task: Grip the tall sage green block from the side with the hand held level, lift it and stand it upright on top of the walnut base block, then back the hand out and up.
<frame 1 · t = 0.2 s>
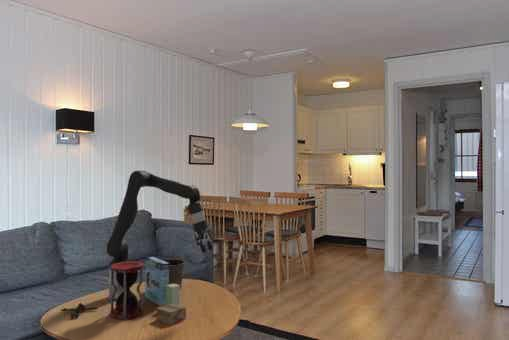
hand: (207, 251, 217), 31 cm above the table, tool tilted 20°, fingers open, 8 cm apart
walnut base block: (171, 319, 203), on the table
hourglass: (126, 314, 210), on the table
plant pot: (171, 288, 255), on the table
sage block: (172, 307, 219), on the table
brown crossed bar shape: (78, 314, 210), on the table
gum box: (156, 301, 230), on the table
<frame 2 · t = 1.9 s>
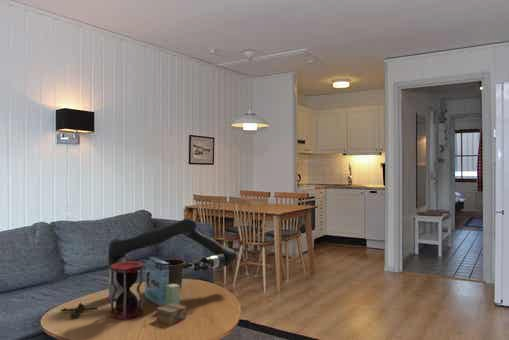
hand: (188, 268, 228), 19 cm above the table, tool horizontal, fingers open, 8 cm apart
nothing on the table moved.
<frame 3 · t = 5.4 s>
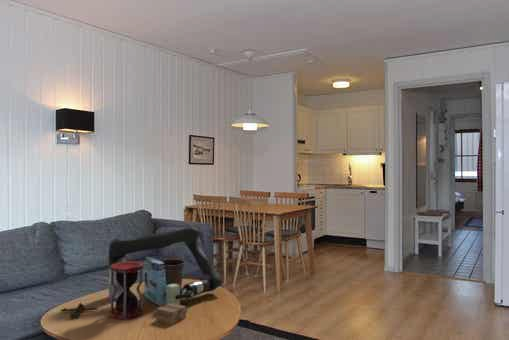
hand: (170, 296, 218), 7 cm above the table, tool horizontal, fingers open, 8 cm apart
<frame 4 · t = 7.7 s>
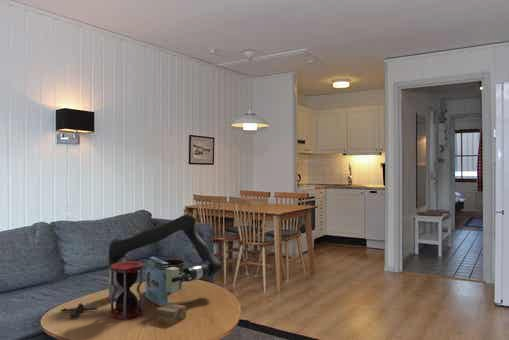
hand: (168, 279, 217), 16 cm above the table, tool horizontal, fingers closed on sage block, 5 cm apart
sage block: (172, 290, 219), point 9 cm above the table, touching gripper
when the fingers open (13 cm above the table, at t = 11.3 s): sage block drops 1 cm, point 6 cm above the table.
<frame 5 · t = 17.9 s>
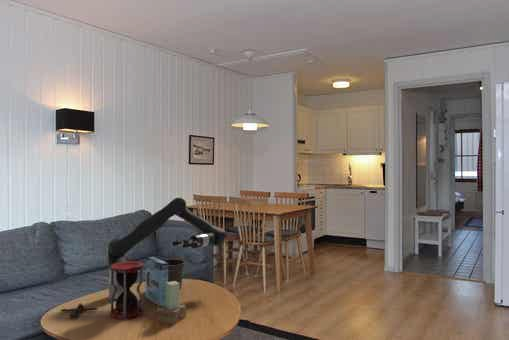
hand: (177, 244, 227), 32 cm above the table, tool horizontal, fingers open, 8 cm apart
sage block: (171, 307, 203), point 6 cm above the table
at the end: sage block 0.3 cm off-centre on the walnut base block, point 6.1 cm above the walnut base block's base; sage block tilted 1°; the gripper is holding nothing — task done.
